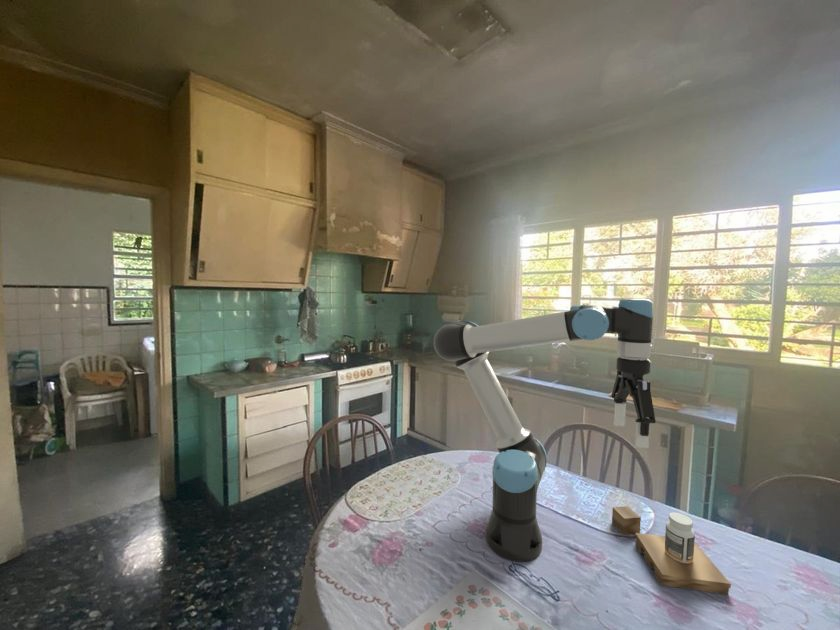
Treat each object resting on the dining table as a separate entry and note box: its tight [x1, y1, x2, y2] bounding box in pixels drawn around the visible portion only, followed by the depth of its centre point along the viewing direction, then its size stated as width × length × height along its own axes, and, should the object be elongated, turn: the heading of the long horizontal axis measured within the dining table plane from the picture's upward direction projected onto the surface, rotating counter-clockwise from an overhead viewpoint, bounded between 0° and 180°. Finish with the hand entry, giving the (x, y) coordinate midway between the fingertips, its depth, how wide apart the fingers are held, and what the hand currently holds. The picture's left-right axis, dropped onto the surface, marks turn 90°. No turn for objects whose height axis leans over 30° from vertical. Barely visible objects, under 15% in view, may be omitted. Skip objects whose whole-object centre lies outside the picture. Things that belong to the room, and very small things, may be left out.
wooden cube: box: [611, 505, 642, 536], centre depth 99 cm, size 5×5×5 cm
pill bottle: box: [664, 512, 696, 564], centre depth 84 cm, size 6×6×10 cm
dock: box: [634, 532, 732, 595], centre depth 85 cm, size 14×14×3 cm
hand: (629, 435), depth 90 cm, fingers open, 13 cm apart
